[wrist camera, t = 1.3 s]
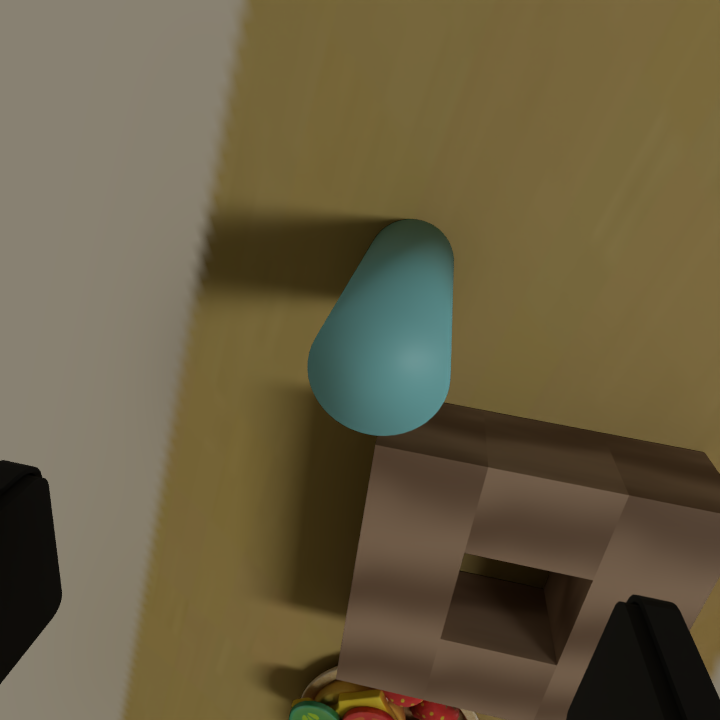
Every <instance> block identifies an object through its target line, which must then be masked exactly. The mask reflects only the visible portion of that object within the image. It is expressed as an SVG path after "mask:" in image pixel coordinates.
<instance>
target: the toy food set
mask: <svg viewBox="0 0 720 720" xmlns="http://www.w3.org/2000/svg"><path fill="white" fill-rule="evenodd" d="M337 668H338V666H336V667H333V668H331V669H329V670H327V671H325V672H323V673H322V674H320V675H319V676H317V677H316V678H315V679H314V680H313V681H312V682H311V683H310V684H309V685H308V686H307V688H306V689H305V691H304V692H303V695H302V697H301V698H300V699H295V700H294V701H293V702H292V706H291V707H292V709H291V712H290V715H289V720H479V719H478V717H477V715H476V713H475V712H472V711H468V710H464V709H460V708H456V707H451V706H447V705H443V704H439V703H434V702H430V701H426V700H422V699H418V698H413V697H409V696H405V695H401V694H396V693H392V692H388V691H384V690H379V689H375V688H371V687H367V686H363V685H358V684H354V683H350V682H346V681H341V680H337V679H336V674H337Z"/></svg>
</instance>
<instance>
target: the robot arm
mask: <svg viewBox="0 0 720 720" xmlns="http://www.w3.org/2000/svg"><path fill="white" fill-rule="evenodd" d="M61 598H62V589H61V581H60V573H59V565H58V556H57V548H56V540H55V532H54V524H53V516H52V508H51V499H50V491H49V484H48V481H47V480H46V479H45V478H42V475H41V472H40V470H39V469H38V468H36V467H33V466H28V465H24V464H19V463H14V462H10V461H5V460H2V461H0V684H1V682H2V681H3V680H4V679H5V677H6V676H7V675H8V674H9V672H10V671H11V670H12V668H13V667H14V666H15V665H16V664H17V662H18V661H19V660H20V658H21V657H22V656H23V655H24V653H25V652H26V651H27V650H28V648H29V647H30V646H31V645H32V643H33V642H34V641H35V640H36V638H37V637H38V636H39V634H40V633H41V632H42V630H43V629H44V628H45V627H46V625H47V624H48V623H49V622H50V621H51V619H52V618H53V617H54V615H55V614H56V612H57V610H58V608H59V605H60V603H61ZM566 720H720V699H719V696H718V694H717V692H716V690H715V687H714V685H713V683H712V681H711V679H710V676H709V674H708V672H707V670H706V667H705V665H704V663H703V661H702V658H701V656H700V654H699V652H698V649H697V647H696V645H695V643H694V641H693V638H692V636H691V634H690V632H689V629H688V627H687V625H686V623H685V620H684V618H683V616H682V614H681V612H680V610H679V608H678V607H677V605H675V604H674V603H673V602H669V601H664V600H659V599H655V598H650V597H645V596H641V595H634V594H633V595H632V596H630V597H629V599H628V600H627V602H621V601H619V602H617V603H616V605H615V606H614V609H613V611H612V613H611V615H610V618H609V620H608V622H607V624H606V627H605V629H604V631H603V633H602V636H601V638H600V640H599V642H598V644H597V647H596V649H595V651H594V653H593V656H592V658H591V660H590V662H589V665H588V667H587V669H586V671H585V674H584V676H583V678H582V680H581V683H580V685H579V687H578V689H577V692H576V694H575V696H574V698H573V701H572V703H571V705H570V707H569V710H568V713H567V718H566Z"/></svg>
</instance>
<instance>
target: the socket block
mask: <svg viewBox="0 0 720 720" xmlns="http://www.w3.org/2000/svg"><path fill="white" fill-rule="evenodd" d="M464 553H467V554H472V555H477V556H481V557H486V558H491V559H495V560H500V561H505V562H509V563H514V564H519V565H524V566H528V567H533V568H538V569H542V570H547V571H550V574H549V577H548V579H547V582H546V585H545V587H544V589H540V588H536V587H531V586H526V585H522V584H517V583H512V582H508V581H503V580H499V579H494V578H489V577H485V576H480V575H475V574H471V573H466V572H461V571H459V570H460V567H461V563H462V560H463V556H464ZM719 577H720V474H719V473H718V471H717V470H716V468H715V467H714V465H713V464H712V462H711V461H710V460H709V458H708V457H707V455H706V454H705V453H704V452H699V451H694V450H688V449H683V448H678V447H673V446H667V445H662V444H657V443H652V442H646V441H641V440H636V439H631V438H625V437H620V436H615V435H610V434H604V433H599V432H594V431H589V430H584V429H578V428H573V427H568V426H563V425H557V424H552V423H547V422H542V421H536V420H531V419H526V418H521V417H515V416H510V415H505V414H500V413H494V412H489V411H484V410H479V409H473V408H468V407H463V406H458V405H452V404H447V403H443V404H442V406H441V407H440V409H439V410H438V411H437V413H436V414H435V415H434V416H433V417H432V418H431V419H430V420H428V421H427V422H426V423H424V424H423V425H421V426H420V427H418V428H416V429H414V430H412V431H409V432H406V433H402V434H397V435H390V436H377V440H376V444H375V450H374V456H373V462H372V468H371V474H370V479H369V485H368V491H367V497H366V503H365V509H364V515H363V521H362V527H361V533H360V538H359V544H358V550H357V556H356V562H355V568H354V574H353V580H352V586H351V592H350V597H349V603H348V609H347V615H346V621H345V627H344V633H343V639H342V645H341V651H340V656H339V662H338V668H337V674H336V679H337V680H341V681H346V682H350V683H354V684H358V685H363V686H367V687H371V688H375V689H379V690H384V691H388V692H392V693H396V694H401V695H405V696H409V697H413V698H418V699H422V700H426V701H430V702H434V703H439V704H443V705H447V706H451V707H456V708H460V709H464V710H468V711H472V712H477V713H481V714H485V715H489V716H494V717H498V718H502V719H506V720H566V718H567V713H568V710H569V707H570V705H571V703H572V701H573V698H574V696H575V694H576V692H577V689H578V687H579V685H580V683H581V680H582V678H583V676H584V674H585V671H586V669H587V667H588V665H589V662H590V660H591V658H592V656H593V653H594V651H595V649H596V647H597V644H598V642H599V640H600V638H601V636H602V633H603V631H604V629H605V627H606V624H607V622H608V620H609V618H610V615H611V613H612V611H613V609H614V606H615V605H616V603H617V602H619V601H621V602H627V600H628V599H629V597H630V596H632V595H633V594H634V595H641V596H645V597H650V598H655V599H659V600H664V601H669V602H673V603H674V604H675V605H677V607H678V608H679V610H680V612H681V614H682V616H683V618H684V620H685V623H686V625H687V627H688V629H689V631H690V629H691V627H692V625H693V623H694V622H695V620H696V618H697V616H698V614H699V613H700V611H701V609H702V607H703V605H704V604H705V602H706V600H707V598H708V596H709V595H710V593H711V591H712V589H713V587H714V586H715V584H716V582H717V580H718V578H719Z"/></svg>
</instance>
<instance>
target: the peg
mask: <svg viewBox="0 0 720 720" xmlns="http://www.w3.org/2000/svg"><path fill="white" fill-rule="evenodd" d="M453 270H454V257H453V251H452V248H451V245H450V243H449V241H448V239H447V238H446V236H445V235H444V234H443V233H442V232H441V231H440V230H439V229H438V228H436V227H435V226H434V225H432V224H430V223H428V222H425V221H422V220H417V219H405V220H400V221H397V222H394V223H392V224H390V225H388V226H387V227H385V228H384V229H383V230H381V231H380V233H379V234H378V235H377V236H376V237H375V239H374V240H373V242H372V244H371V246H370V247H369V249H368V251H367V252H366V254H365V256H364V257H363V259H362V261H361V262H360V264H359V266H358V267H357V269H356V271H355V272H354V274H353V276H352V277H351V279H350V281H349V282H348V284H347V286H346V287H345V289H344V291H343V293H342V294H341V296H340V298H339V299H338V301H337V303H336V304H335V306H334V308H333V309H332V311H331V313H330V314H329V316H328V318H327V319H326V321H325V323H324V324H323V326H322V328H321V329H320V331H319V333H318V334H317V336H316V338H315V340H314V342H313V344H312V346H311V349H310V352H309V358H308V377H309V381H310V385H311V388H312V390H313V393H314V395H315V397H316V399H317V400H318V402H319V403H320V405H321V406H322V407H323V409H324V410H325V411H326V412H327V413H328V414H329V415H330V416H332V417H333V418H334V419H335V420H336V421H338V422H339V423H341V424H342V425H344V426H346V427H348V428H350V429H352V430H355V431H358V432H361V433H365V434H369V435H376V436H390V435H397V434H402V433H406V432H409V431H412V430H414V429H416V428H418V427H420V426H421V425H423V424H424V423H426V422H427V421H428V420H430V419H431V418H432V417H433V416H434V415H435V414H436V413H437V411H438V410H439V409H440V407H441V406H442V404H443V402H444V400H445V398H446V396H447V393H448V390H449V385H450V373H451V339H452V304H453Z"/></svg>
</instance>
